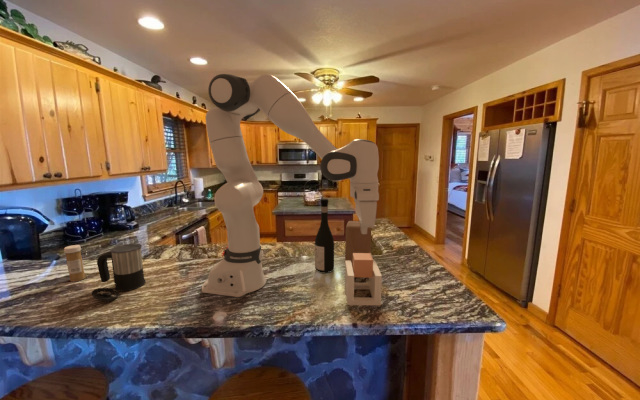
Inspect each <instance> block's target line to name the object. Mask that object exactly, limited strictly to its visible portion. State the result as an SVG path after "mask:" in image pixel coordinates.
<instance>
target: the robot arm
mask: <svg viewBox="0 0 640 400" xmlns="http://www.w3.org/2000/svg"><path fill="white" fill-rule="evenodd" d="M207 91H208V96H209V99H210V101H211V102H212V104H214V107H212V108H210V109H209V110H208V111H207V112H206V114H205V126H206V132H207V133H206V135H207V137H208V142H209V146H210V149H211V153H212V156H213V159H214V160H213V161H214V163H215V166H216V168H217V169H218V170H219V171H220V172H221V174H222V175H223V177H224V179H225V180H226V182H225V183H224V184H222V185H221V186H220V187H219V188H218V189H217V190H216V192H215V194H214V205H215V207H216V209H217V210H218V211H219V212H220V213H221V215H222V217H223V220H224V224H225V226H226V232H227V233H226V234H227V246H226V247H225V249H224V250H223V252H222V253H221V257H222V258H223V259H221V260H219V262H217V263H216V264H215V265H214V266H212V268H211V269H210V270H209V272H208V277H207V279H206V280H205V281H204V282H203V284H202V285H201V293H203V294H211V295H219V296H220V295H221V296H225V297H236V298H240V297H243V296H245V295H247V294H248V293H253V292H255V291H258V290H260V289H261V288H263V287H264V286H265V285H266V283H267V280H266V276H265V274H264V270H263V265H262V261H263V260H262V259H263V252H262V246H261V239H260V238H261V237H260V226H259V224H258V222H257V220H256V216H255V215H256V214H255V212H254V207H255V206H257V205H258V204H259V202H261V200H262V198H263V195H264V187H263V186H262V183H261V182H260V181H259V180H258V177H257V174H256V171H255V170H254V168H253V166H252V164H251V161H250V158H249V155H248V152H247V148H246V145H245V141H244V136H243V133H242V129H241V122H242V121H244V122H245V121H247V120H248V119H250V118H252V117H254V116H255V115H257V114H259V112H261V111H262V113H264V115H265V116H266V117H267V118H268V119H269V121H271V122H272V123H273V124H274V125H275V126H276V127H278V128H279V129H280V130H281V131H282V132H284V133H286V134H288V135H289V136H290V135H291V136H293V137H296V138H297V139H299V140H301V141H302V142H304V143H305V144H306V145H307V146H308V147H310V149H311V150H312V151H313V152H314V153H315V154H316V155H317V156H318V157H319V158H320V159H321V161H320V164H319V165H320V172H321V174H322V176H323V177H324V178H325V179H326V180H329V181H332V182H342V181H343V180H347V179H348V180H349V183H350V187H349V188H350V190H349V192H350V195H349V196H350V197H351V198H353V200H354V201H353V202H354V203H355V204H354V205H355V206H354V207H355V209H354V210H355V214H356V216H357V218H358V221H360V231H361V233H362V234H367V228H368V227H371V228H373V227H374V226H375V224H376V218H377V217H376V216H377V208H378V203H377V202H378V201H379V199H380V193H379V178H378V174H379V173H378V172H379V168H380V163H379V162H380V157H379V149H378V145H377V143H375V142H374V141H372V140H369V139H362V138H355V139H353V140H351V142H349V143H348V144H346V145H344V146H342V147H340V148H337V147H336V146H335V145H334V144H333V143H332V142H330V140H329V139H328V138H327V137H326V136H325V135H324V134H323V133H322V132H321V131H320V130H319V128H318V127H317V126H316V124H315V123H314V121H313V119H312V117H311V115H309V113H308V111H307V110H306V108H305V107H304V105H303V103H302V102H301V100H299V98H298V97H297V96H296V95H295V94H294V93H293V92H292V90H290V88H289V87H287V86H286V85H285V84H284V83H283V82H282V81H281V80H280V79H278V78H277V77H276V76H274V75H272V74H271V73H263V74H260V75H259V76H257V77H256V78H255V79H254V80H253V81H251V82H250V81H248V80H247V79H246V78H244V77H240V76H238V75H237V76H236V75H233V74H230V73H229V74H228V73H220V74H216V75H215V76H213V78H212V79H211V80H210V82H209V84H208V90H207Z"/></svg>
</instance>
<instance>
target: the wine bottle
mask: <svg viewBox="0 0 640 400" xmlns="http://www.w3.org/2000/svg"><path fill="white" fill-rule="evenodd" d="M328 205H329V199H328V198H321V199H320V225H319V228H318V230H317V233H316V236H315V240H314V269H315V271H316V272H319V273H322V274H328V273H331V272H332V271H334V269H335V238H334V237H333V233H332V231H331V229H330V226H329V217H328V216H329V213H328V212H329V210H328V207H329V206H328Z"/></svg>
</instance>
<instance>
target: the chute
mask: <svg viewBox="0 0 640 400" xmlns="http://www.w3.org/2000/svg"><path fill="white" fill-rule="evenodd" d="M382 280H383V276H382V273H381V270H380V269H379V267H378V264H377V262H376V260H373V278H371V277H368V282H355V277H354V272H353V268H352V263H351V261H344V288H345V289H344V290H345V296H346V297H345V298H346V305H347V306H381V305H382V284H383V283H382ZM355 290H369V293H370V296H371V297H360V296H359V297H356V296H355Z"/></svg>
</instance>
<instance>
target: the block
mask: <svg viewBox="0 0 640 400" xmlns="http://www.w3.org/2000/svg"><path fill="white" fill-rule="evenodd" d="M373 261H374V259H373V256H372V253H371V254H370V253H353V266H352V268H353V272H354V278H369V277H371V278H373Z"/></svg>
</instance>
